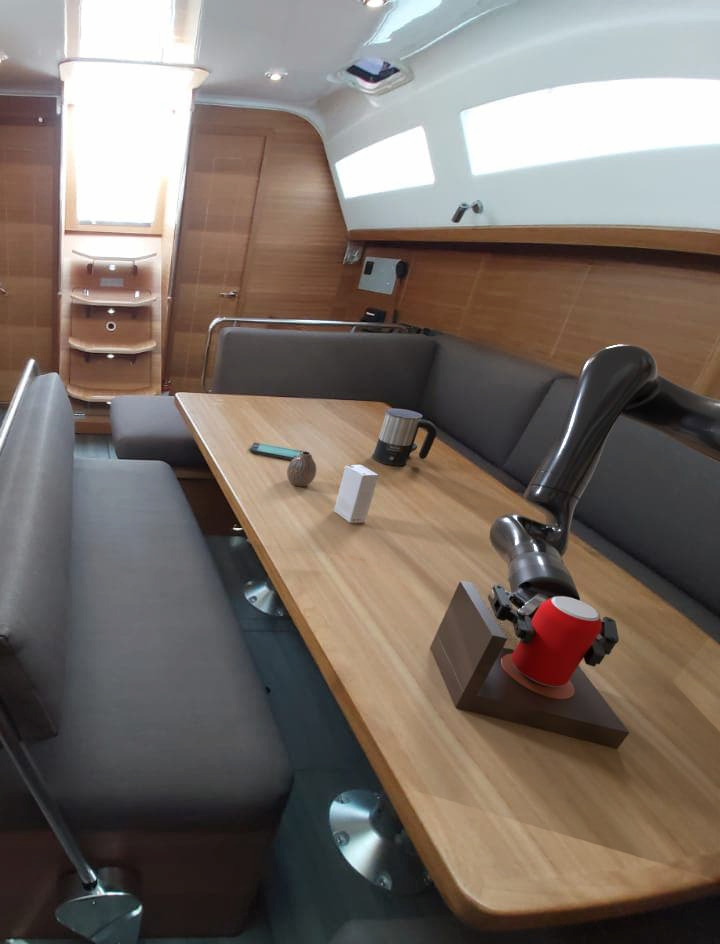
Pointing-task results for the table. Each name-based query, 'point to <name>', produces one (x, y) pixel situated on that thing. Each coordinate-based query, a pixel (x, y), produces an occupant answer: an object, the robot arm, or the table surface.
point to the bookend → (513, 678)
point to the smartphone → (274, 451)
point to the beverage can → (557, 640)
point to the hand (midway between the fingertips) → (560, 649)
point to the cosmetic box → (355, 493)
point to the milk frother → (402, 437)
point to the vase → (302, 469)
